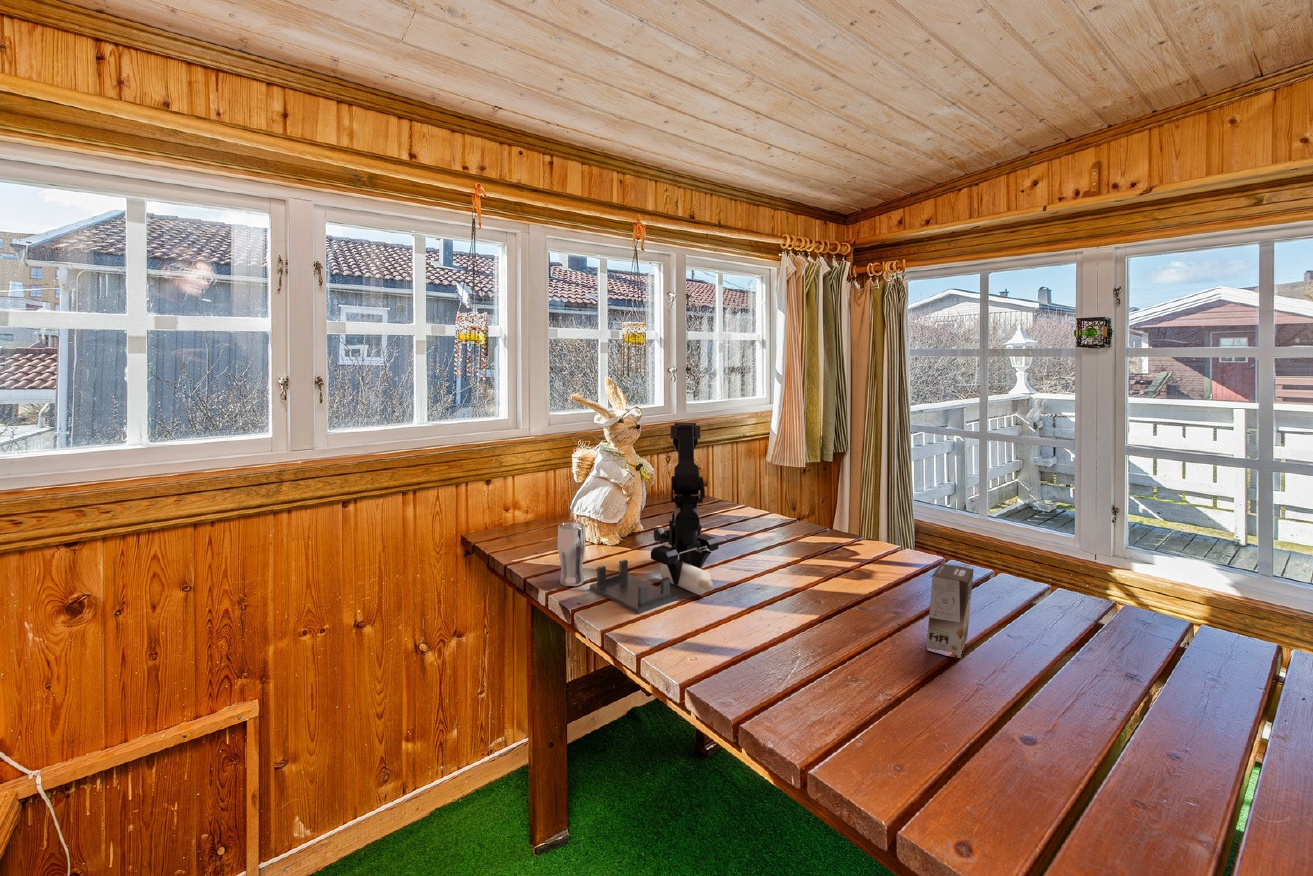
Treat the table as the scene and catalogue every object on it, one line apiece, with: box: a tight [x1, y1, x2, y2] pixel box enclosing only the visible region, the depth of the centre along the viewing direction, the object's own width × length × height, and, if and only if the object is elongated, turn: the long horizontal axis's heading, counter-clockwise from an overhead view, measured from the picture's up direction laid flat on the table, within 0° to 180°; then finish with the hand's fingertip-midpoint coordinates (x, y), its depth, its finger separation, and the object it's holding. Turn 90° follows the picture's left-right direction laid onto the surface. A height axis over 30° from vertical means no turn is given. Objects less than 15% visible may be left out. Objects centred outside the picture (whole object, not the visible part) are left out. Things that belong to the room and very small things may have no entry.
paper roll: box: [658, 562, 714, 596], centre depth 152 cm, size 17×6×6 cm, turn 42°
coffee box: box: [926, 563, 975, 659], centre depth 122 cm, size 9×6×16 cm
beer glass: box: [557, 521, 586, 587], centre depth 154 cm, size 7×7×15 cm
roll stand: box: [589, 559, 678, 615], centre depth 148 cm, size 12×19×6 cm, turn 41°
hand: (684, 581), depth 153 cm, fingers closed on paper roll, 6 cm apart
